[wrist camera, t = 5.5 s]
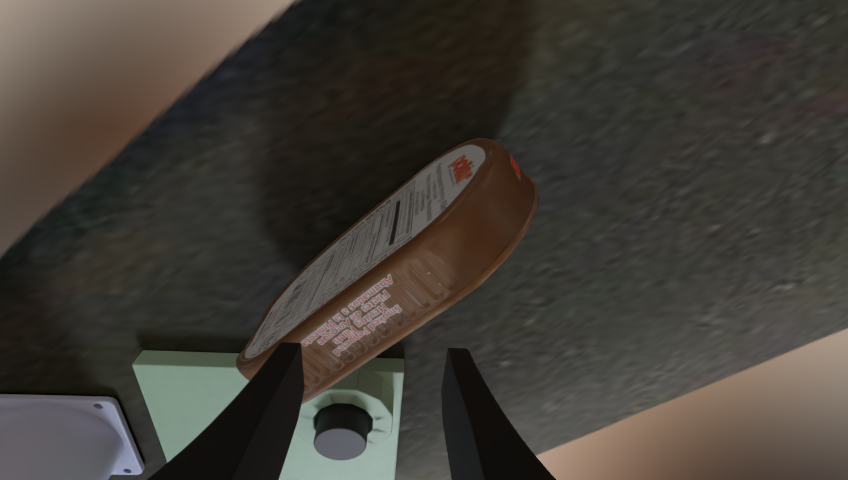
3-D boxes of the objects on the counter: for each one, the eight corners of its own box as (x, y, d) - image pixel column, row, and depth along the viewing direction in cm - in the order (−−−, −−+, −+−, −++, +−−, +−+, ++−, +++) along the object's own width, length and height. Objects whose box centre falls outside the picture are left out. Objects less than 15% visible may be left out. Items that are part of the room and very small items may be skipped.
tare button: (320, 433, 25) (314, 460, 23) (317, 400, 23) (311, 427, 22) (368, 434, 25) (365, 461, 24) (369, 402, 24) (366, 428, 22)
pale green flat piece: (182, 467, 30) (161, 510, 28) (141, 344, 24) (109, 383, 22) (394, 470, 31) (393, 511, 29) (404, 353, 25) (404, 391, 23)
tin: (304, 318, 24) (259, 452, 16) (262, 285, 23) (192, 414, 15) (514, 157, 20) (580, 240, 12) (475, 106, 18) (523, 164, 11)
